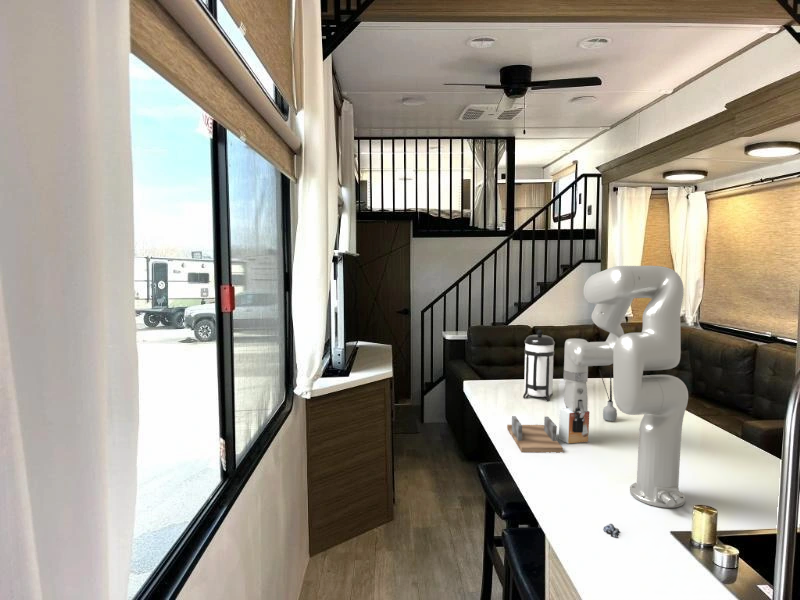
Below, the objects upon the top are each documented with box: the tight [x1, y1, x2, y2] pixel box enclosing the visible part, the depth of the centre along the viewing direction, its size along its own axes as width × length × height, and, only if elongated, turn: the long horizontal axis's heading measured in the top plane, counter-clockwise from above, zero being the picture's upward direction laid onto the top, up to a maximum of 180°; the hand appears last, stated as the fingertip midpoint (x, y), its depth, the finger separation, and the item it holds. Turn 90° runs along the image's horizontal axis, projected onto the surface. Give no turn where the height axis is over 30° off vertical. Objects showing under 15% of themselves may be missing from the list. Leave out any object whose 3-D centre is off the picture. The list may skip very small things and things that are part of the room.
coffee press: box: [522, 329, 556, 402], centre depth 220 cm, size 17×16×30 cm
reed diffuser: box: [598, 367, 618, 422], centre depth 190 cm, size 10×7×20 cm
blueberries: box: [603, 523, 628, 539], centre depth 112 cm, size 7×8×2 cm
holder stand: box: [506, 415, 564, 454], centre depth 169 cm, size 22×13×6 cm, turn 179°
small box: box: [558, 407, 590, 445], centre depth 169 cm, size 8×6×10 cm
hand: (573, 427), depth 169 cm, fingers closed on small box, 6 cm apart
